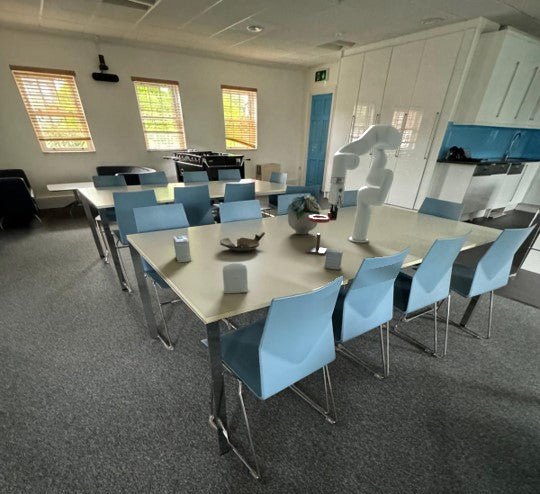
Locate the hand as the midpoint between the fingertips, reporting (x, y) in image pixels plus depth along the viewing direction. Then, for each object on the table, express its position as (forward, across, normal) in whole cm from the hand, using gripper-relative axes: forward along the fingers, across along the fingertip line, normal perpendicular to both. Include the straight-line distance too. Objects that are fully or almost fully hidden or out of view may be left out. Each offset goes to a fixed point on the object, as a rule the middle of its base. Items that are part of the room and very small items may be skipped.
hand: (332, 217), depth 177 cm
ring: (+1, 0, +6) cm, 6 cm away
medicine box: (+19, -30, +12) cm, 37 cm away
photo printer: (+19, -48, +67) cm, 85 cm away
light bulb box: (+19, +2, +86) cm, 88 cm away
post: (+18, -1, +8) cm, 20 cm away
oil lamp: (+19, +12, +49) cm, 54 cm away
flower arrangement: (+18, +43, 0) cm, 47 cm away
